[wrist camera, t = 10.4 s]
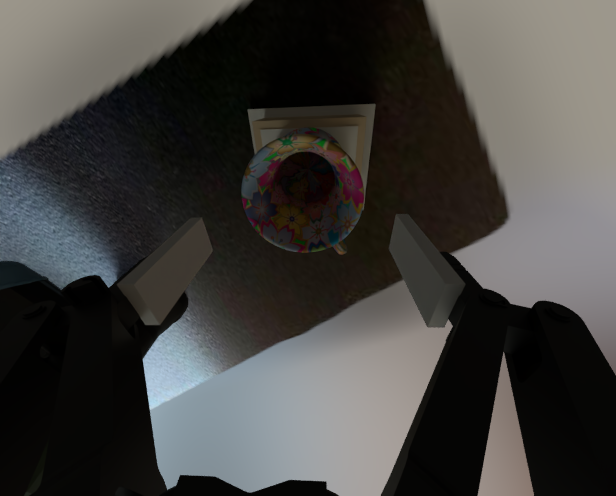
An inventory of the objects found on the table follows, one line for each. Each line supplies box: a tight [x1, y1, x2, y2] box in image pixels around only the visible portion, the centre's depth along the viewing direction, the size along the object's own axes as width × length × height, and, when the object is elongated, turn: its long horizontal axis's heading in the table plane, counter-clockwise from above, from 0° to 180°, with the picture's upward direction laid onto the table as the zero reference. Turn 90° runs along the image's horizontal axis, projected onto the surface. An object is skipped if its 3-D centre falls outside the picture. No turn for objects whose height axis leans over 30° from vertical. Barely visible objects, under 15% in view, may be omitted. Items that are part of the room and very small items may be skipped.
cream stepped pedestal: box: [248, 104, 376, 210], centre depth 29 cm, size 16×14×7 cm
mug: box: [242, 127, 364, 254], centre depth 21 cm, size 12×9×11 cm
